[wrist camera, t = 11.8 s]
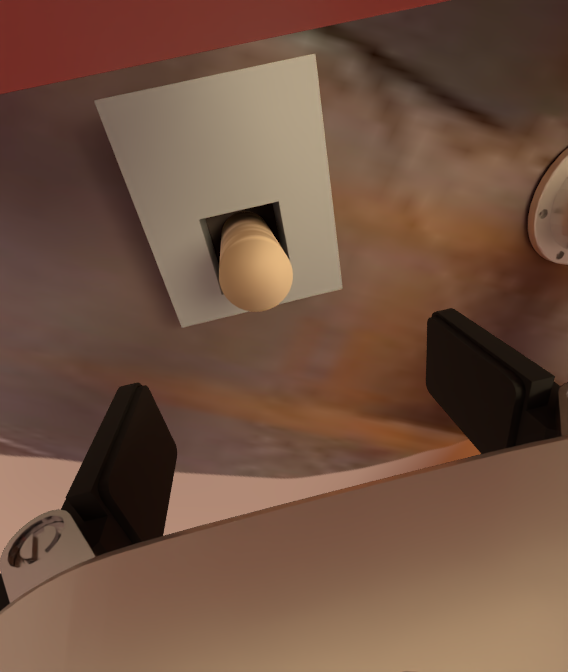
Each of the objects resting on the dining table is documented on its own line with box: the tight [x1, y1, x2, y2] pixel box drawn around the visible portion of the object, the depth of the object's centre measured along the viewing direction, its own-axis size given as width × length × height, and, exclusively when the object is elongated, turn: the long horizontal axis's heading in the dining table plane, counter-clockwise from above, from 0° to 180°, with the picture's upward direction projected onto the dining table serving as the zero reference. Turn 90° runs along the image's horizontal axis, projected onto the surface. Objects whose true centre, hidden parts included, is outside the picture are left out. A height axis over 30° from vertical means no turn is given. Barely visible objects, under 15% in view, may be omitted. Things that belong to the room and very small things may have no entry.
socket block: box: [94, 54, 343, 328], centre depth 27 cm, size 14×16×5 cm
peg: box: [219, 211, 293, 312], centre depth 25 cm, size 4×4×12 cm
